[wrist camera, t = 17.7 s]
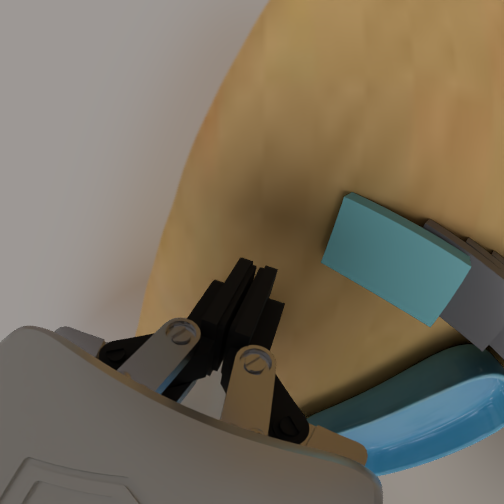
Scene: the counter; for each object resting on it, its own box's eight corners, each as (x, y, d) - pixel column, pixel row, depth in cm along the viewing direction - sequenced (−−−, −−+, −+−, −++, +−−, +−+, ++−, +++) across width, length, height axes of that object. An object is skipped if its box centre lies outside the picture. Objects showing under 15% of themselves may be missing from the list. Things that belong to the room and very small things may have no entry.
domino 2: (468, 237, 15) (545, 305, 9) (439, 288, 18) (509, 352, 12) (465, 241, 14) (547, 314, 9) (434, 295, 17) (507, 362, 11)
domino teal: (352, 192, 17) (469, 256, 13) (330, 254, 19) (432, 314, 15) (344, 196, 15) (471, 267, 11) (320, 262, 18) (430, 327, 14)
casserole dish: (489, 285, 16) (517, 345, 10) (530, 365, 18) (542, 405, 12) (263, 417, 38) (250, 454, 32) (353, 452, 39) (348, 482, 33)
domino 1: (429, 218, 16) (523, 288, 10) (401, 275, 18) (484, 339, 13) (425, 222, 15) (524, 298, 10) (394, 282, 17) (482, 351, 12)
